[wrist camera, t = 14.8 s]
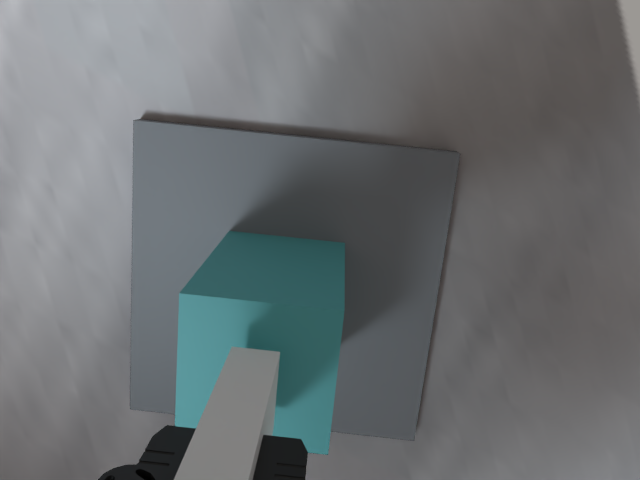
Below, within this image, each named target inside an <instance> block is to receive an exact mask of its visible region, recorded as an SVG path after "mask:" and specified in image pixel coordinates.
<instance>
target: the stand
mask: <svg viewBox="0 0 640 480" xmlns="http://www.w3.org/2000/svg"><path fill="white" fill-rule="evenodd" d="M459 159H460V153H458V152H455V151H445V150H435V149H426V148H416V147H406V146H396V145H387V144H377V143H367V142H358V141H348V140H338V139H328V138H319V137H309V136H299V135H289V134H280V133H270V132H260V131H251V130H241V129H231V128H221V127H212V126H202V125H192V124H183V123H173V122H163V121H153V120H144V119H138V120H133V202H132V284H131V367H130V409H132V410H141V411H150V412H159V413H168V414H175V405H176V375H177V344H178V314H179V293H180V292H181V290H182V289H183V288H184V287H185V285H186V284H187V283H188V282H189V280H190V279H191V278H192V277H193V275H194V274H195V273H196V272H197V270H198V269H199V268H200V267H201V265H202V264H203V263H204V262H205V260H206V259H207V258H208V257H209V255H210V254H211V253H212V252H213V250H214V249H215V248H216V247H217V245H218V244H219V243H220V242H221V240H222V239H223V238H224V237H225V235H226V234H227V233H228V232H229V231H236V232H245V233H255V234H265V235H274V236H284V237H294V238H303V239H313V240H322V241H332V242H342V243H345V309H344V319H343V328H342V337H341V346H340V354H339V363H338V372H337V381H336V389H335V398H334V407H333V415H332V424H331V432H338V433H347V434H356V435H365V436H374V437H383V438H392V439H401V440H410V441H414V438H415V432H416V426H417V420H418V414H419V407H420V401H421V395H422V389H423V383H424V376H425V370H426V364H427V358H428V352H429V345H430V339H431V333H432V327H433V321H434V314H435V308H436V302H437V296H438V290H439V283H440V277H441V271H442V265H443V259H444V252H445V246H446V240H447V234H448V228H449V221H450V215H451V209H452V203H453V196H454V190H455V184H456V178H457V172H458V165H459Z"/></svg>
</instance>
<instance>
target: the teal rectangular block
mask: <svg viewBox="0 0 640 480" xmlns="http://www.w3.org/2000/svg"><path fill="white" fill-rule="evenodd" d="M344 309H345V243H342V242H332V241H322V240H313V239H303V238H294V237H284V236H274V235H265V234H255V233H245V232H236V231H229V232H228V233H227V234H226V235H225V237H224V238H223V239H222V240H221V242H220V243H219V244H218V245H217V247H216V248H215V249H214V250H213V252H212V253H211V254H210V255H209V257H208V258H207V259H206V260H205V262H204V263H203V264H202V265H201V267H200V268H199V269H198V270H197V272H196V273H195V274H194V275H193V277H192V278H191V279H190V280H189V282H188V283H187V284H186V285H185V287H184V288H183V289H182V290H181V292H180V293H179V314H178V344H177V375H176V405H175V426H178V427H187V428H197V425H198V423H199V421H200V418H201V416H202V414H203V411H204V409H205V407H206V405H207V402H208V400H209V398H210V395H211V393H212V391H213V389H214V386H215V384H216V382H217V379H218V377H219V375H220V373H221V370H222V368H223V366H224V363H225V361H226V359H227V357H228V354H229V352H230V350H231V347H241V348H250V349H259V350H268V351H277V352H280V359H279V371H278V382H277V394H276V405H275V417H274V428H273V434H272V436H280V437H289V438H297V439H301V440H302V441H303V443H304V445H305V447H306V449H307V451H308V453H316V454H325V455H328V450H329V442H330V433H331V424H332V415H333V407H334V398H335V389H336V381H337V372H338V363H339V354H340V346H341V337H342V328H343V319H344Z"/></svg>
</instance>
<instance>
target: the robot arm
mask: <svg viewBox="0 0 640 480" xmlns="http://www.w3.org/2000/svg"><path fill="white" fill-rule="evenodd" d="M279 359H280V352H277V351H268V350H259V349H250V348H241V347H231V350H230V352H229V354H228V357H227V359H226V361H225V363H224V366H223V368H222V370H221V373H220V375H219V377H218V379H217V382H216V384H215V386H214V389H213V391H212V393H211V395H210V398H209V400H208V402H207V405H206V407H205V409H204V411H203V414H202V416H201V418H200V421H199V423H198V425H197V428H187V427H178V426H169V425H167V426H165V427H164V428H163V429H161V430H160V431H159V432H158V433H156V434H155V435H154V436H153V437H152V438H151V440H150V442H149V444H148V446H147V447H146V449H145V452H144V453H143V455H142V457H141V458H140V460H139V463H138V464H137V465H124V466H120V467H116V468H113V469H112V470H110V471H108V472H106V473H104V474H103V475H102V476H101V477H100V478H99V479H98V480H305V474H306V465H307V455H308V451H307V449H306V447H305V445H304V443H303V441H302V440H301V439H297V438H289V437H280V436H272V434H273V428H274V417H275V405H276V394H277V382H278V371H279Z"/></svg>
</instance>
